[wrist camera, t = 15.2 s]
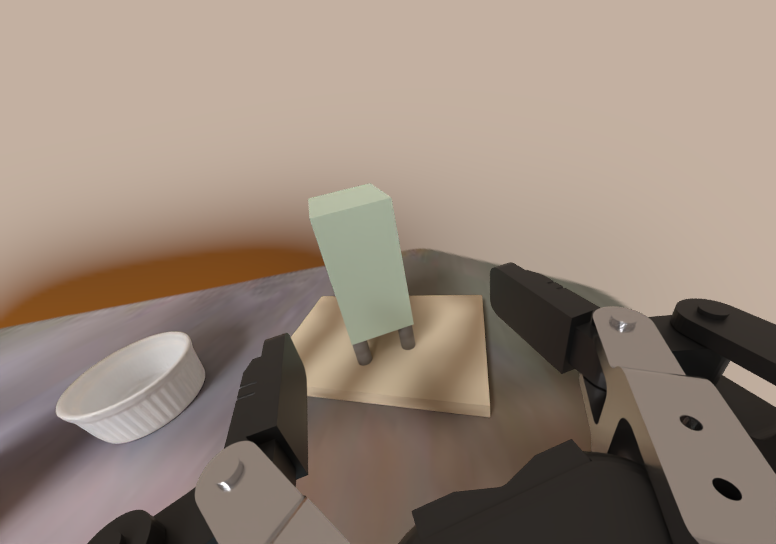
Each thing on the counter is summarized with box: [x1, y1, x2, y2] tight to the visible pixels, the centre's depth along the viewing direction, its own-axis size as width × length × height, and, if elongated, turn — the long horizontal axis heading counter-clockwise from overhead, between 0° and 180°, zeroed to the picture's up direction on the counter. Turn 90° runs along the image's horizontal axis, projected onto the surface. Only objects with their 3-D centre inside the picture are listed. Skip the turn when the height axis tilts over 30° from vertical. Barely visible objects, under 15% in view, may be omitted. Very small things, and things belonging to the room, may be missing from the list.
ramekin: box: [56, 332, 205, 444], centre depth 23 cm, size 9×9×4 cm
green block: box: [308, 184, 414, 345], centre depth 21 cm, size 6×5×10 cm
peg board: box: [291, 295, 490, 417], centre depth 24 cm, size 18×12×4 cm, turn 76°
